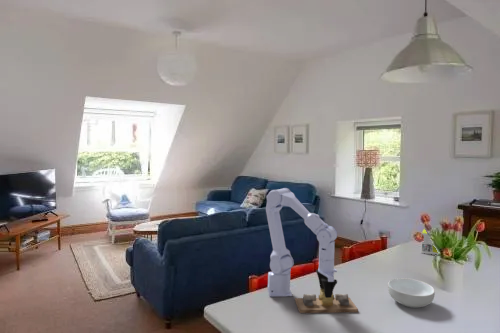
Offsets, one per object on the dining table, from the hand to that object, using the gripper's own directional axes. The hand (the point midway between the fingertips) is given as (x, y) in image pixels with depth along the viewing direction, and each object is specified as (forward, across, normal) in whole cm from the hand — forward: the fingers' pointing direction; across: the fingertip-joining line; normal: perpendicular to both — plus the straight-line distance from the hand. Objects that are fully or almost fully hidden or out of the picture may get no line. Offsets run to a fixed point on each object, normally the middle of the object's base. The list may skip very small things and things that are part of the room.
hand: (325, 292), depth 137 cm
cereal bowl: (+6, +2, -35) cm, 35 cm away
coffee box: (+6, +68, -82) cm, 106 cm away
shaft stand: (+5, 0, 0) cm, 5 cm away
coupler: (+4, 0, 0) cm, 4 cm away
